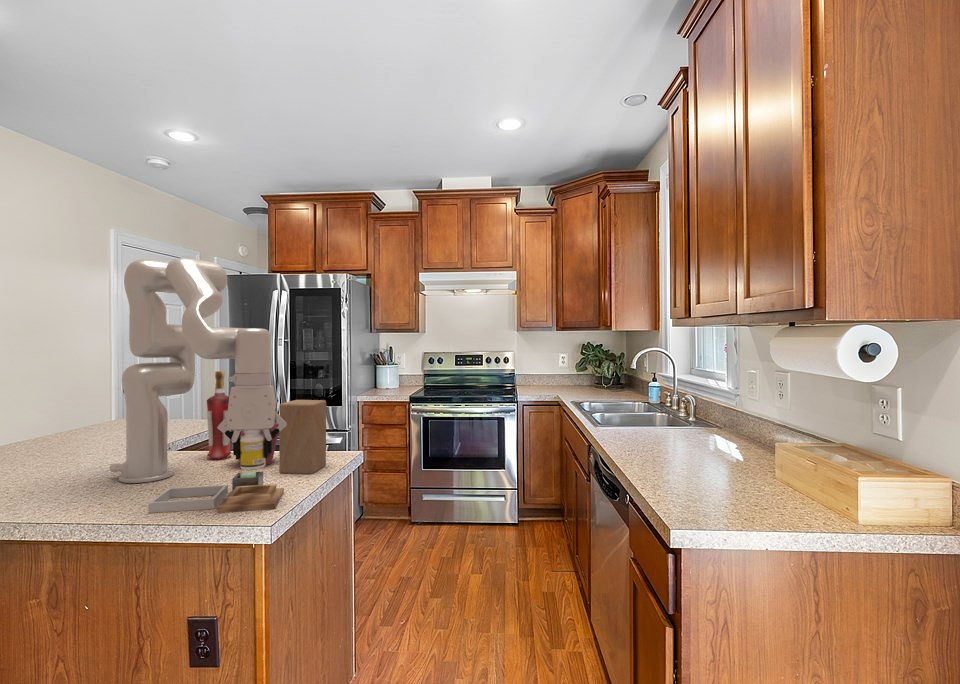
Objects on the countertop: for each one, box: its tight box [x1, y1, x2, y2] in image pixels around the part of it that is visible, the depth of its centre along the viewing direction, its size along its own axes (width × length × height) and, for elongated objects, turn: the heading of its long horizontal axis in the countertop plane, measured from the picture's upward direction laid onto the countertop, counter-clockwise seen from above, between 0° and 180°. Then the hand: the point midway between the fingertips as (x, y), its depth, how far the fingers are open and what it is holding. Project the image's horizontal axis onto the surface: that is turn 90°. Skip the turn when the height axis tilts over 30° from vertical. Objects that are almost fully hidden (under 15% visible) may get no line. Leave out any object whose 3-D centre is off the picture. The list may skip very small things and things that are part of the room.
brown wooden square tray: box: [216, 483, 285, 513], centre depth 116 cm, size 12×12×3 cm
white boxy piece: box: [231, 471, 264, 491], centre depth 125 cm, size 6×6×4 cm
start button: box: [240, 470, 257, 478], centre depth 125 cm, size 4×4×2 cm
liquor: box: [206, 370, 232, 461], centre depth 159 cm, size 7×7×28 cm
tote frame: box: [148, 484, 229, 514], centre depth 115 cm, size 13×11×2 cm
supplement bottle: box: [239, 430, 266, 471], centre depth 116 cm, size 5×5×10 cm
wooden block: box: [278, 399, 327, 475], centre depth 146 cm, size 10×10×20 cm
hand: (252, 456), depth 116 cm, fingers closed on supplement bottle, 5 cm apart
